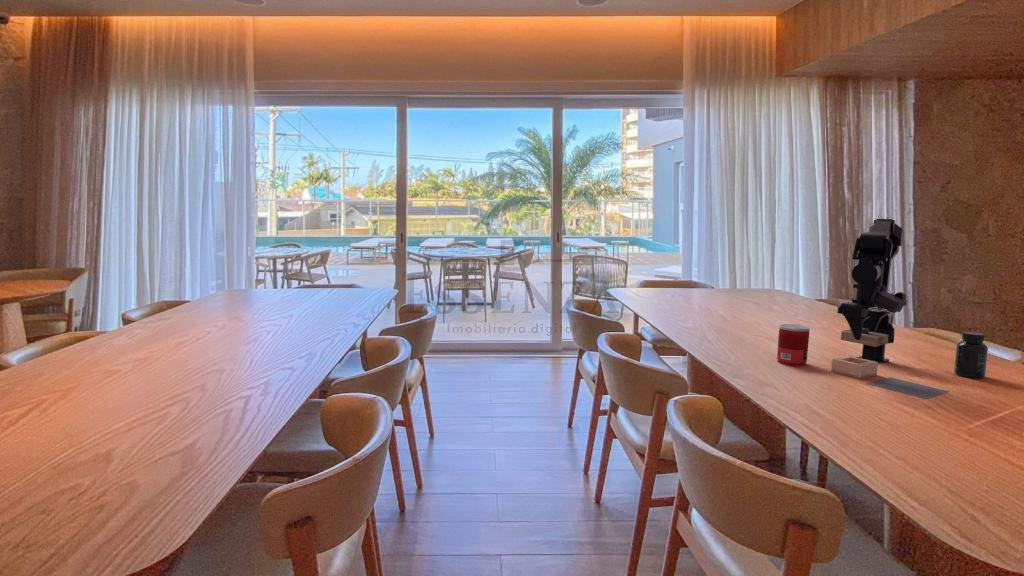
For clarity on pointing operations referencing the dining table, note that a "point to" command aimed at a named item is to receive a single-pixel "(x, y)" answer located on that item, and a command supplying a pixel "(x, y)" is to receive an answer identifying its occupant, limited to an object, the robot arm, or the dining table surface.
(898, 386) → the mat
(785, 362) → the canned food
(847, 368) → the tan box
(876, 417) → the dining table surface
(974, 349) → the supplement bottle
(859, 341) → the lid
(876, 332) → the robot arm
